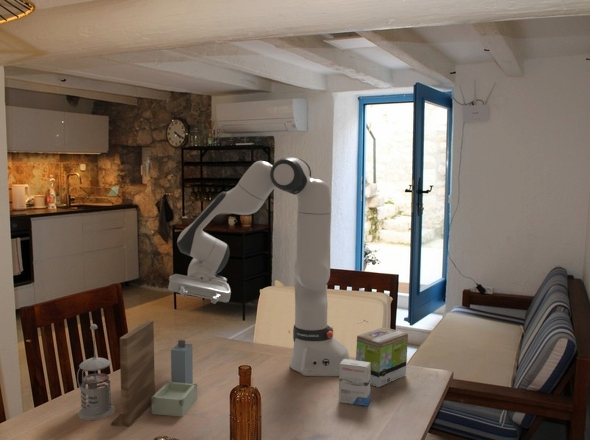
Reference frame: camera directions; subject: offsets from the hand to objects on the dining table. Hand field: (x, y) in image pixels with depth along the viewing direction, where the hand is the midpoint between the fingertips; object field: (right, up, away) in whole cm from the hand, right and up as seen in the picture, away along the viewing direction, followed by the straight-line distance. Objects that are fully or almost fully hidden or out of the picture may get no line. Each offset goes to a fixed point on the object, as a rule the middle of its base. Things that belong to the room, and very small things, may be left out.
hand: (199, 298), depth 176 cm
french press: (-26, -29, -20) cm, 44 cm away
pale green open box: (-4, -29, -17) cm, 33 cm away
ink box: (+48, -29, -12) cm, 57 cm away
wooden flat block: (-15, -29, -21) cm, 39 cm away
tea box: (+58, -27, +6) cm, 64 cm away
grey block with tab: (-5, -27, -4) cm, 28 cm away
